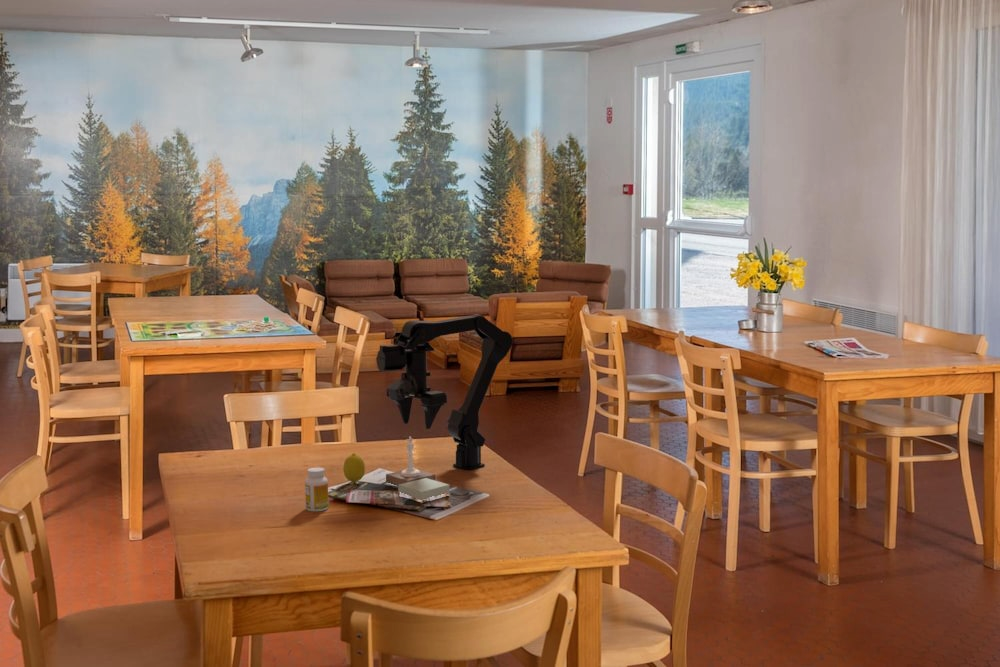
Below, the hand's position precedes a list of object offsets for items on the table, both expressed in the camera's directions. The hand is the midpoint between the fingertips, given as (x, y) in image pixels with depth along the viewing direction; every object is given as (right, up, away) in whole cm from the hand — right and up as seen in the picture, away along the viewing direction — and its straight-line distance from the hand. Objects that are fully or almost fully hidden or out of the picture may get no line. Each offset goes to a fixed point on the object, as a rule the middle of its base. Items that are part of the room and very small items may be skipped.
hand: (416, 426), depth 295 cm
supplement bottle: (-22, -18, -30) cm, 41 cm away
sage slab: (+3, -16, -20) cm, 26 cm away
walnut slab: (-1, -15, -10) cm, 18 cm away
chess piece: (-1, -12, -11) cm, 16 cm away
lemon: (-16, -14, -8) cm, 23 cm away
